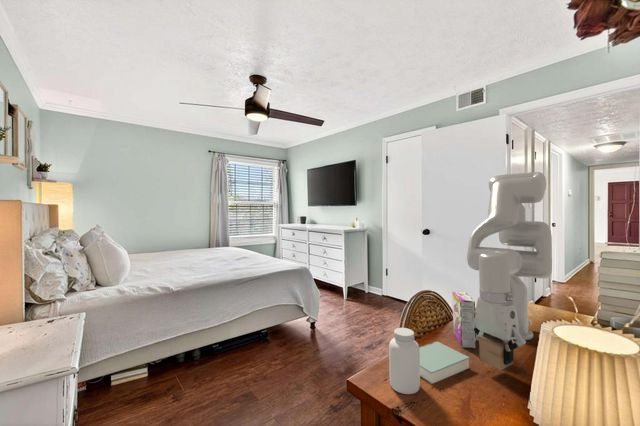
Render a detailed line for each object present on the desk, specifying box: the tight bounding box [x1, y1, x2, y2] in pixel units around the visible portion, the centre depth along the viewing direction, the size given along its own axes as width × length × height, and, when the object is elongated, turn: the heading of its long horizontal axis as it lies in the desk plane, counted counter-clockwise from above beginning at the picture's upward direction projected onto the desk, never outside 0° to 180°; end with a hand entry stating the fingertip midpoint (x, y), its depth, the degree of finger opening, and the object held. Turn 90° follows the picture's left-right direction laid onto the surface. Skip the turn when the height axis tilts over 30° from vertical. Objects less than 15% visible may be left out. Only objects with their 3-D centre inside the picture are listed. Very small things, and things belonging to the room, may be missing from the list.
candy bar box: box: [452, 291, 477, 349], centre depth 102 cm, size 11×5×16 cm, turn 168°
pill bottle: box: [388, 327, 421, 395], centre depth 78 cm, size 8×8×15 cm
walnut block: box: [478, 333, 514, 371], centre depth 82 cm, size 6×6×7 cm
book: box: [419, 340, 470, 385], centre depth 87 cm, size 12×16×4 cm
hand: (496, 356), depth 82 cm, fingers closed on walnut block, 6 cm apart
